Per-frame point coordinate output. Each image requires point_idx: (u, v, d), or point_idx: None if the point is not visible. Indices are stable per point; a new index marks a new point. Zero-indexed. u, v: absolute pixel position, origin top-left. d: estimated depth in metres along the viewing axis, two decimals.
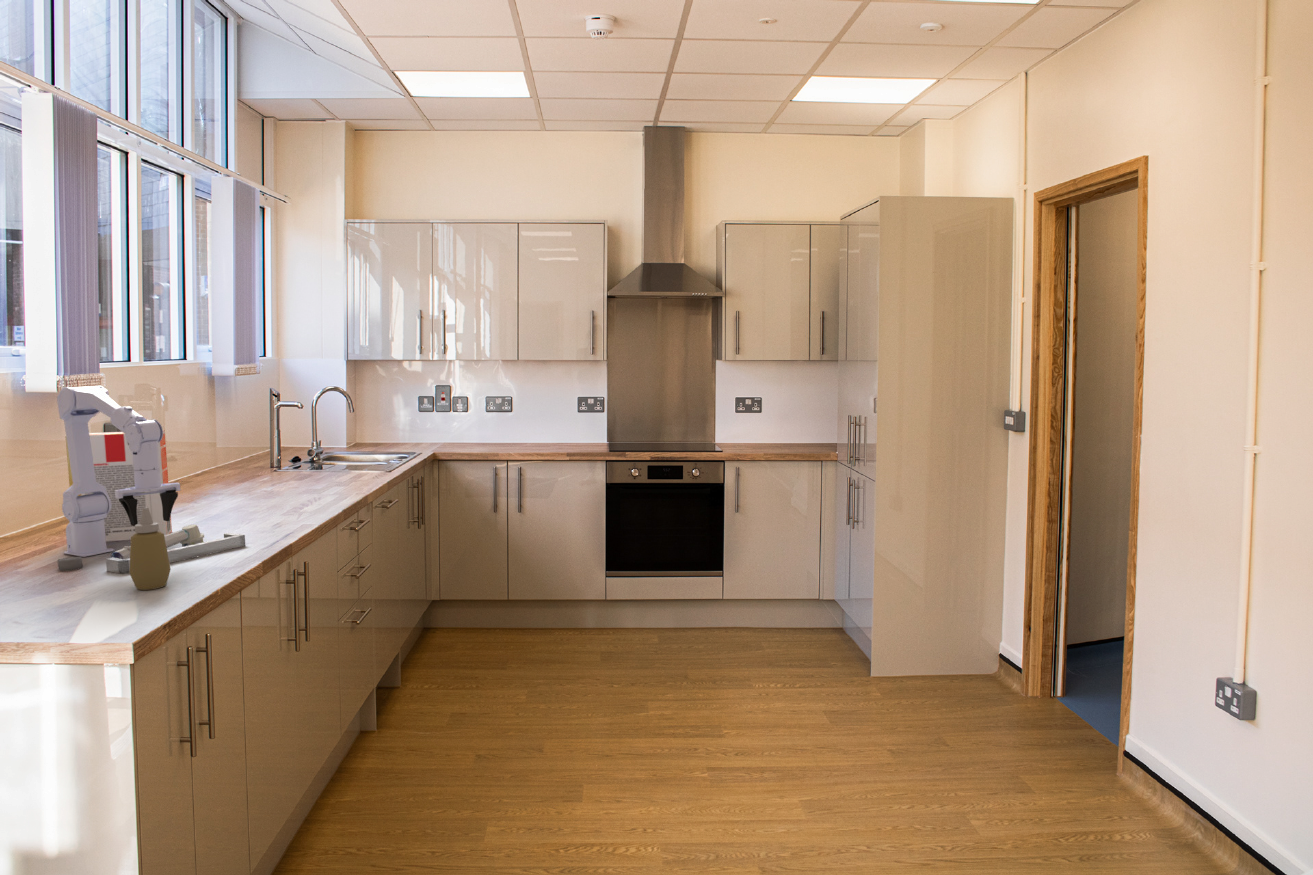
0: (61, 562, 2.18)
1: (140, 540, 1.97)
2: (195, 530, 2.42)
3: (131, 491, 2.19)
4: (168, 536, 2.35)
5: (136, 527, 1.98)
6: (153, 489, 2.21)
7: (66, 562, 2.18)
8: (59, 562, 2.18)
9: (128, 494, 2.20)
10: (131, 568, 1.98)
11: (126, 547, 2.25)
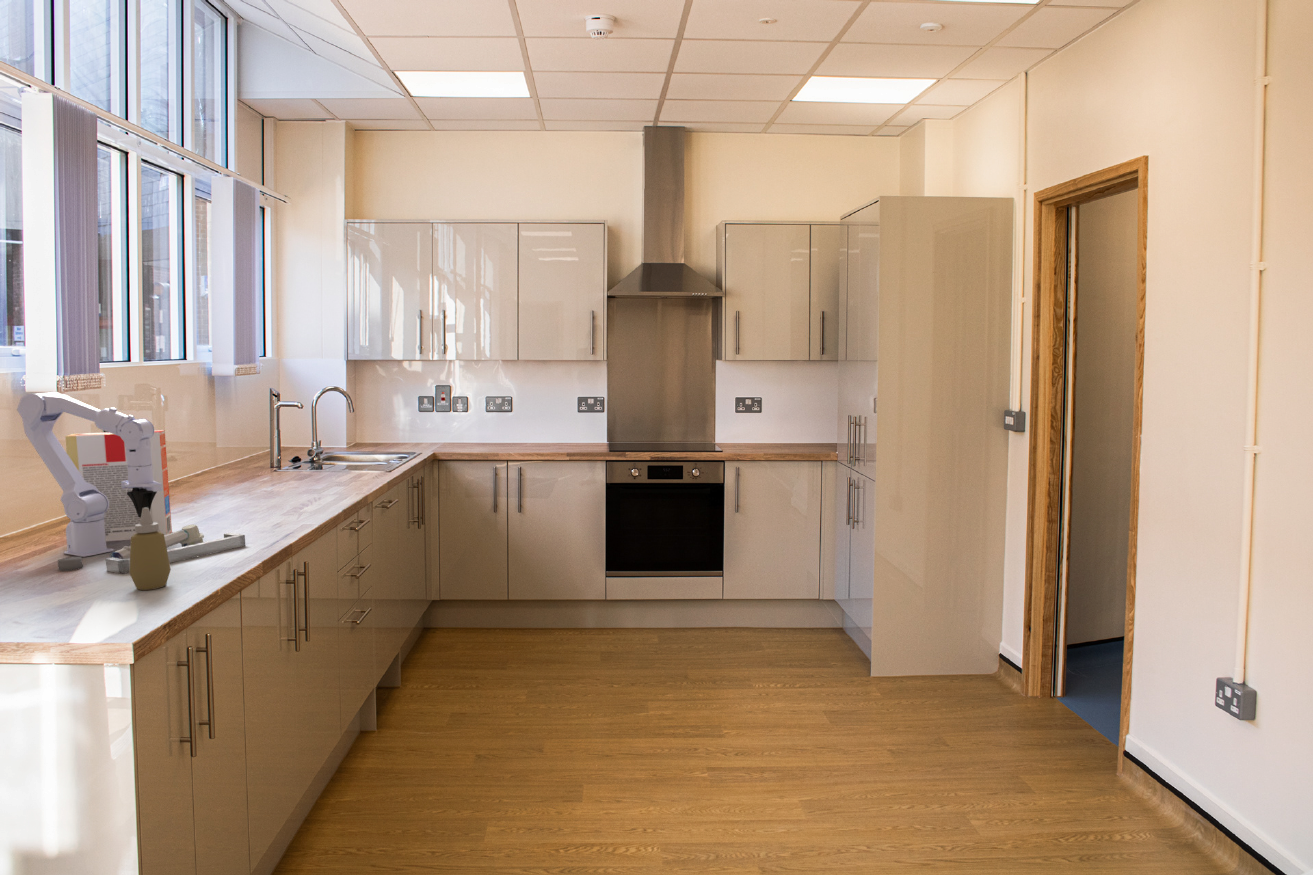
0: (61, 562, 2.18)
1: (140, 540, 1.97)
2: (194, 530, 2.41)
3: (125, 483, 2.36)
4: (168, 536, 2.35)
5: (136, 527, 1.98)
6: (125, 485, 2.32)
7: (66, 562, 2.18)
8: (59, 562, 2.18)
9: None
10: (131, 568, 1.98)
11: (126, 547, 2.25)
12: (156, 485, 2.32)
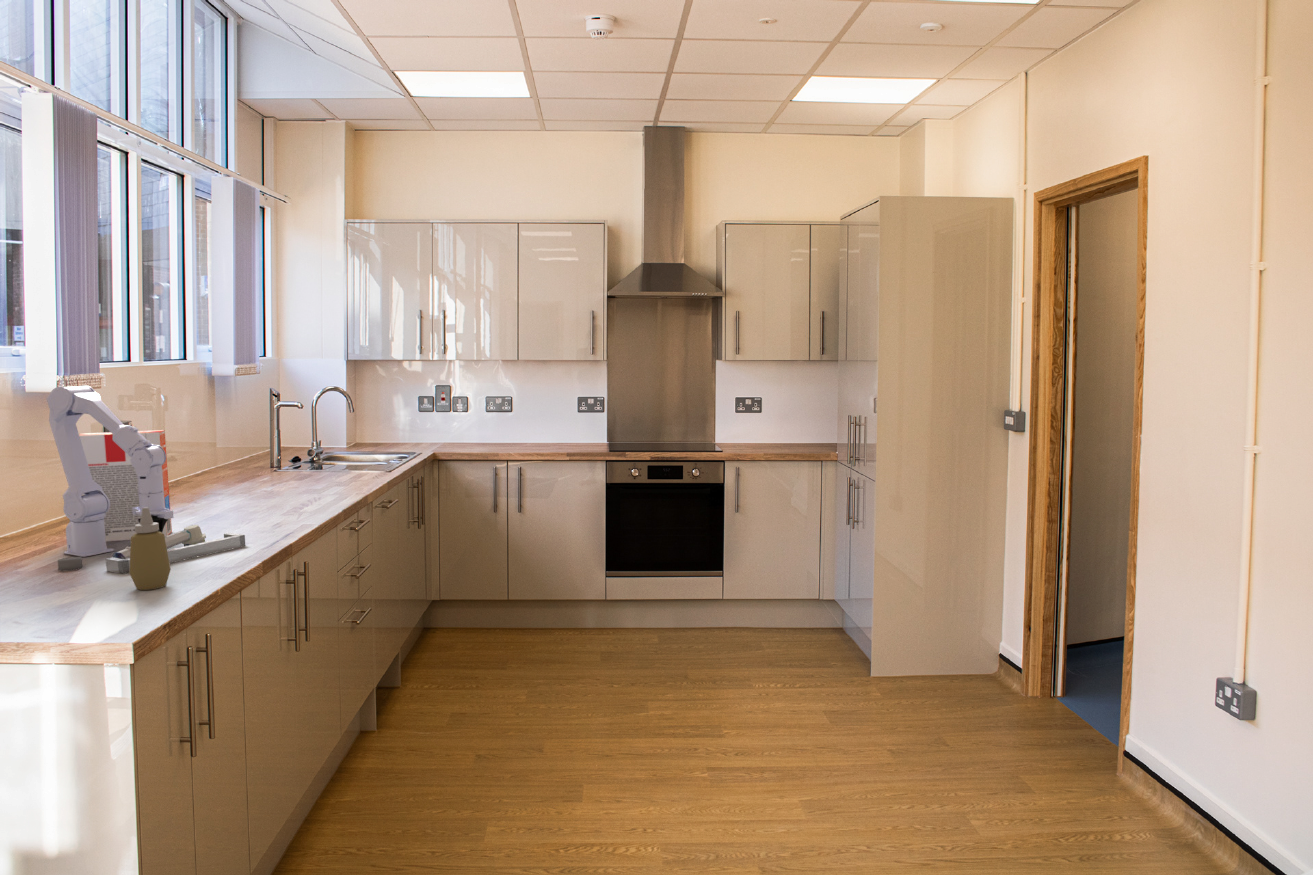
0: (61, 562, 2.18)
1: (140, 540, 1.97)
2: (197, 530, 2.41)
3: (136, 510, 2.35)
4: (170, 536, 2.35)
5: (136, 527, 1.98)
6: (136, 512, 2.31)
7: (66, 562, 2.18)
8: (59, 562, 2.18)
9: None
10: (131, 568, 1.98)
11: (128, 547, 2.25)
12: (168, 512, 2.30)
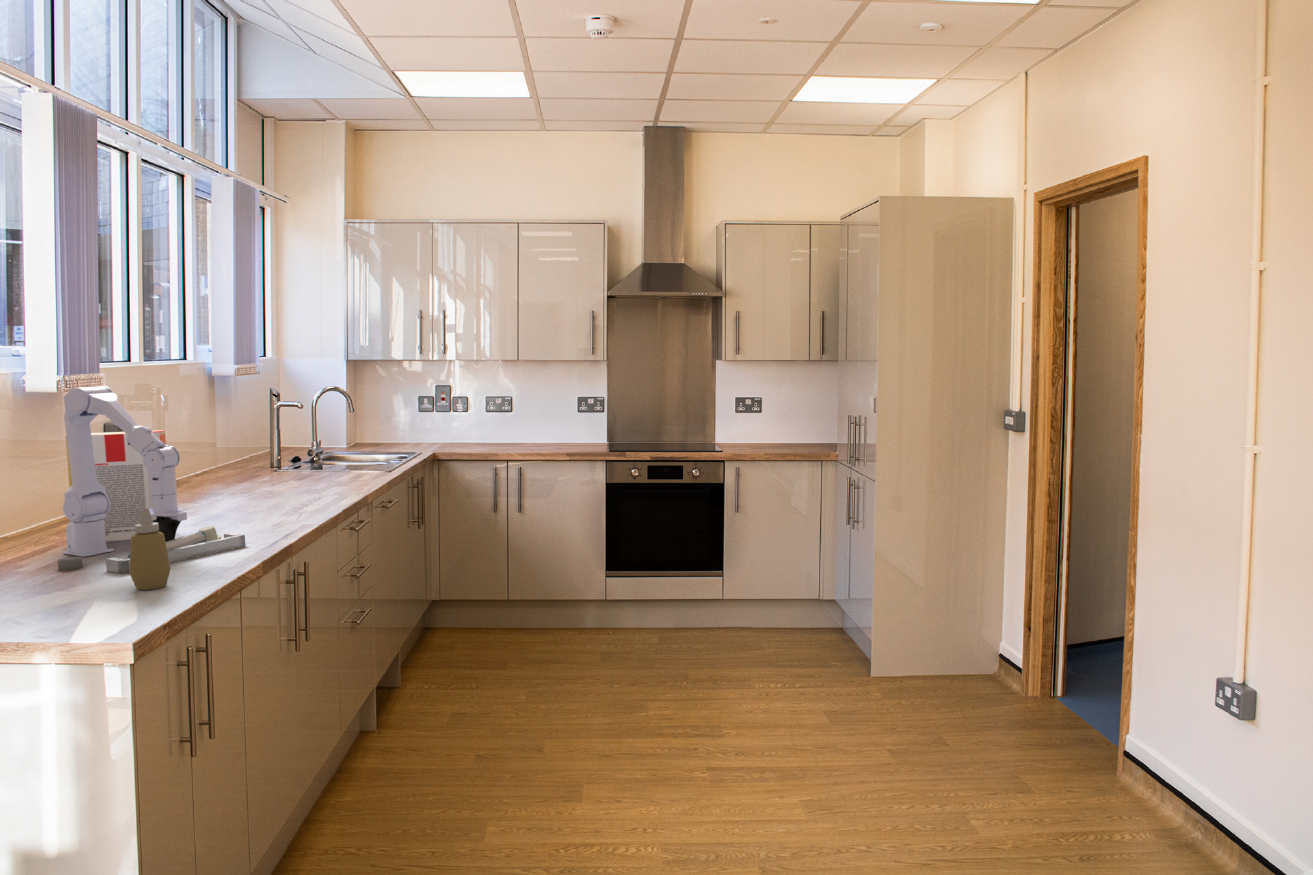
0: (61, 562, 2.18)
1: (140, 540, 1.97)
2: (212, 532, 2.39)
3: None
4: (185, 538, 2.32)
5: (136, 527, 1.98)
6: None
7: (66, 562, 2.18)
8: (59, 562, 2.18)
9: None
10: (131, 568, 1.98)
11: None
12: (181, 514, 2.28)
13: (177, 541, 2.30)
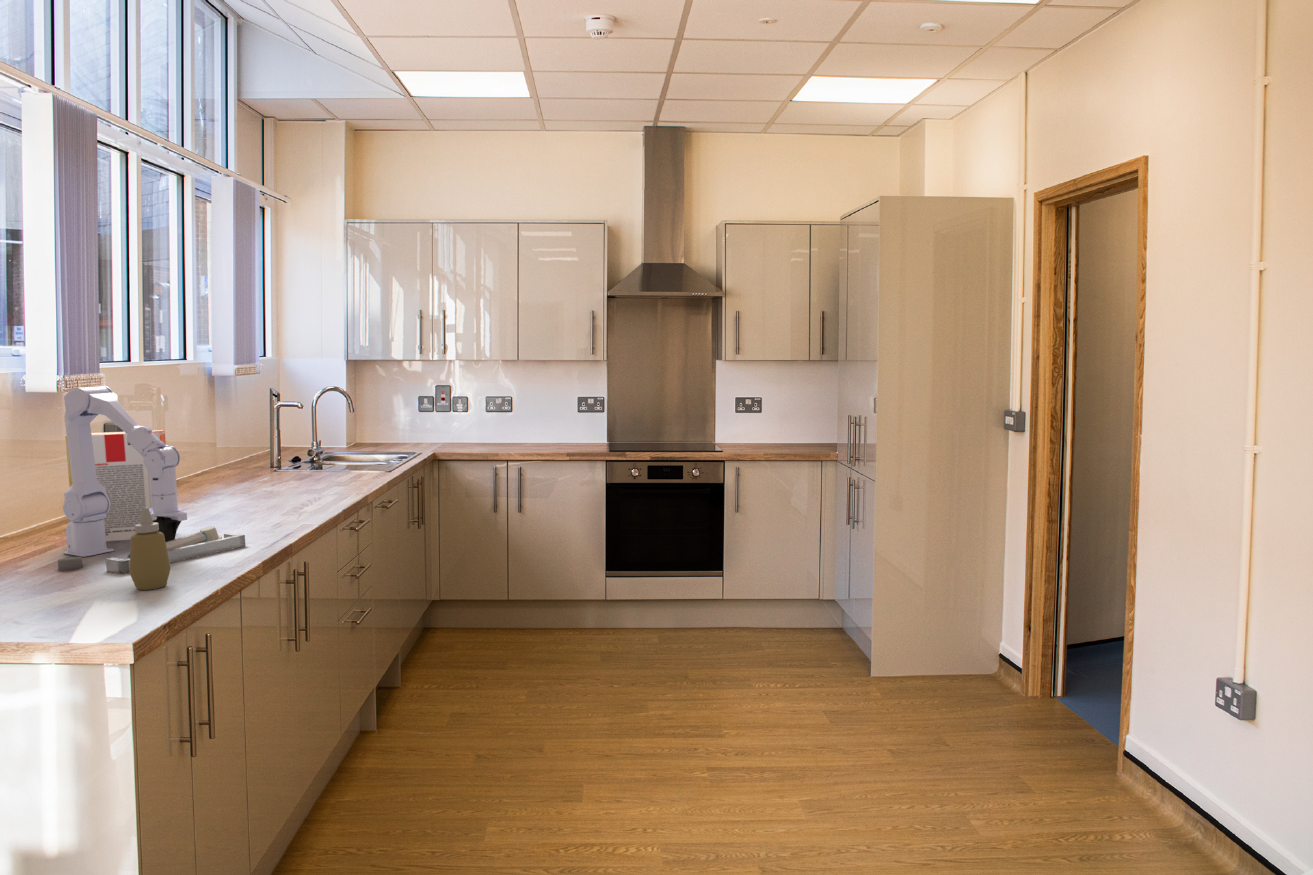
0: (61, 562, 2.18)
1: (140, 540, 1.97)
2: (213, 532, 2.38)
3: None
4: (185, 538, 2.32)
5: (136, 527, 1.98)
6: None
7: (66, 562, 2.18)
8: (59, 562, 2.18)
9: None
10: (131, 568, 1.98)
11: None
12: (181, 514, 2.28)
13: (177, 541, 2.30)
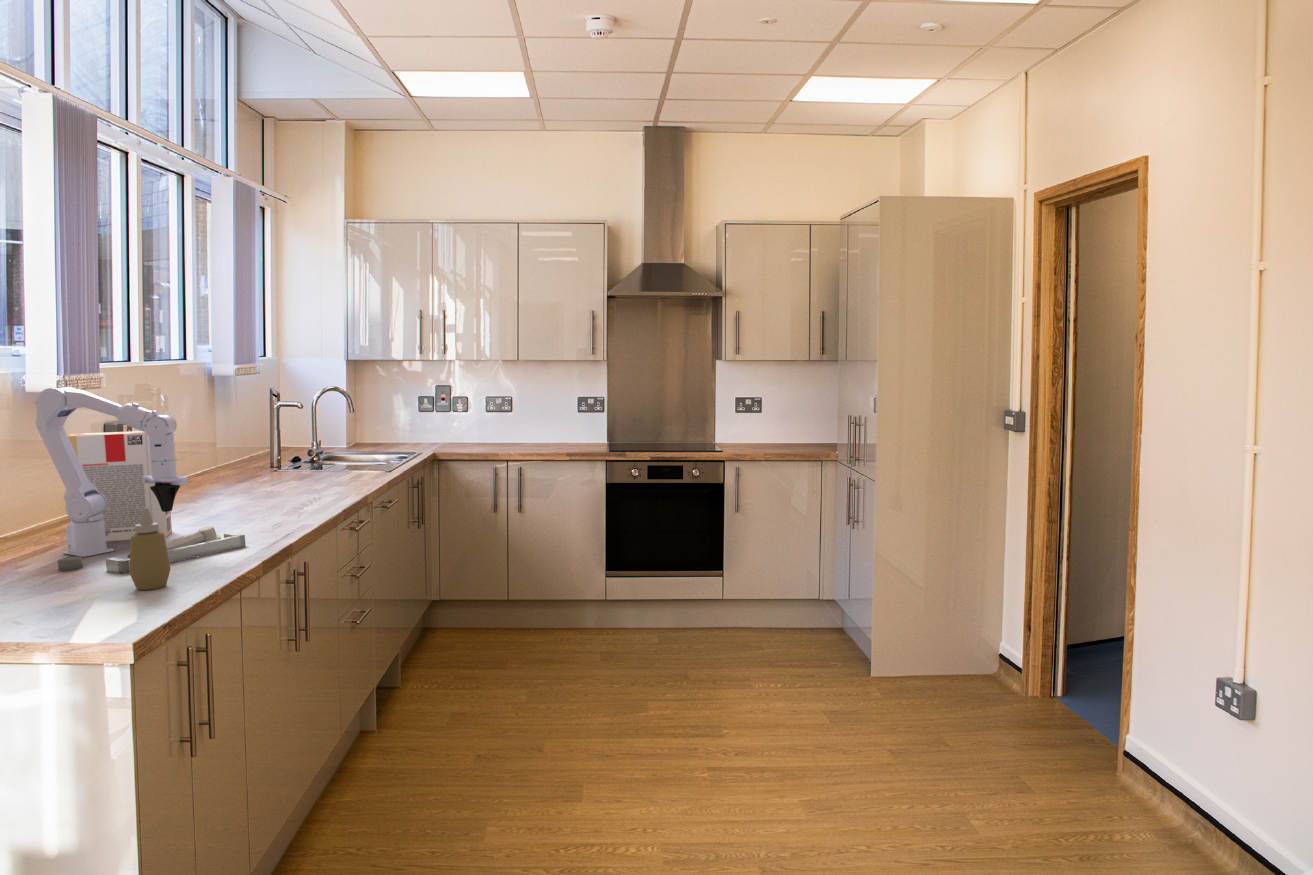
0: (60, 562, 2.18)
1: (140, 540, 1.97)
2: (211, 532, 2.39)
3: (147, 478, 2.38)
4: (184, 538, 2.32)
5: (136, 527, 1.98)
6: (149, 480, 2.35)
7: (65, 562, 2.18)
8: (58, 562, 2.19)
9: (151, 481, 2.40)
10: (131, 568, 1.98)
11: None
12: (183, 479, 2.35)
13: (176, 541, 2.30)
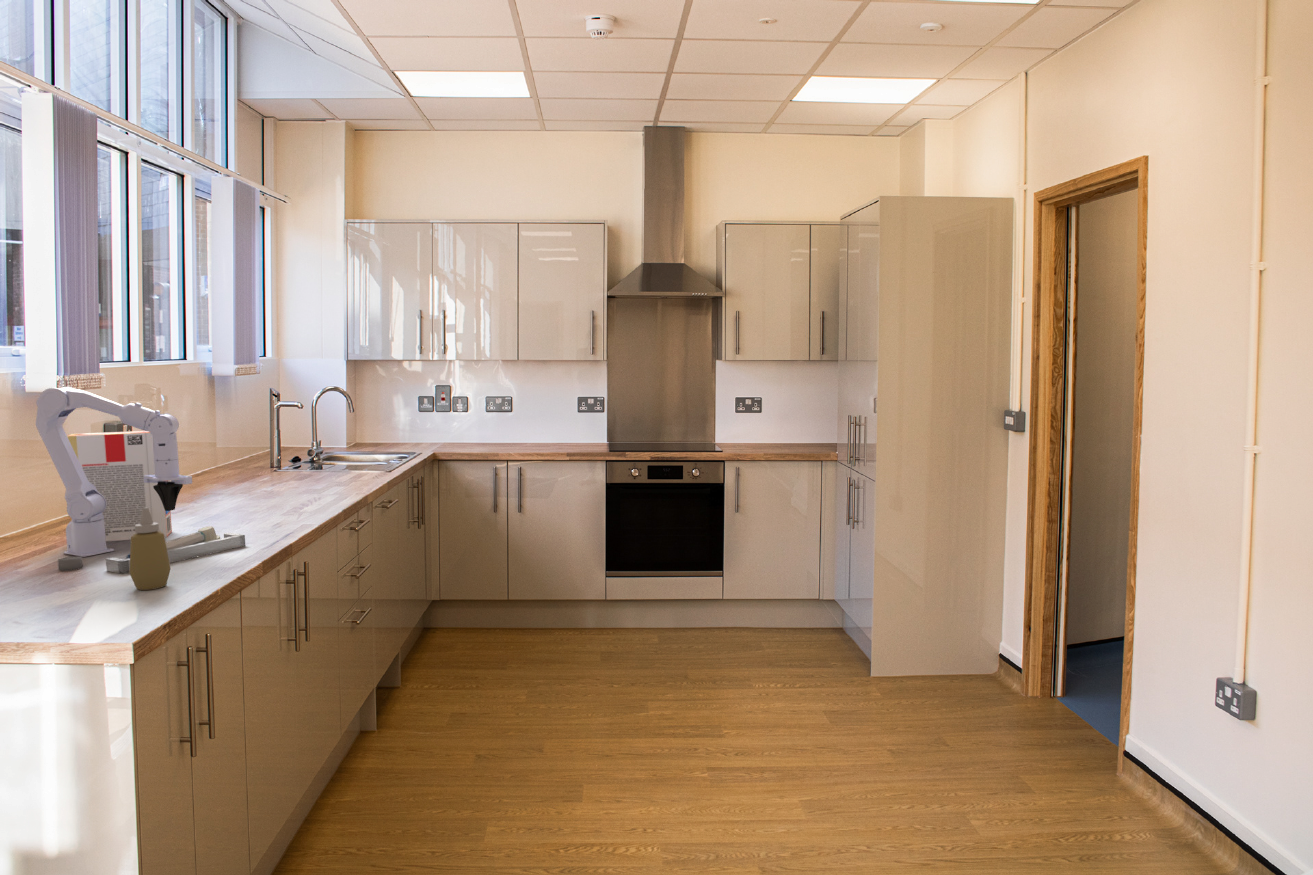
0: (60, 561, 2.18)
1: (140, 540, 1.97)
2: (211, 532, 2.39)
3: (149, 478, 2.39)
4: (184, 538, 2.32)
5: (136, 527, 1.98)
6: (153, 479, 2.36)
7: (65, 562, 2.18)
8: (59, 561, 2.19)
9: (153, 480, 2.41)
10: (131, 568, 1.98)
11: None
12: (187, 478, 2.37)
13: (176, 541, 2.30)
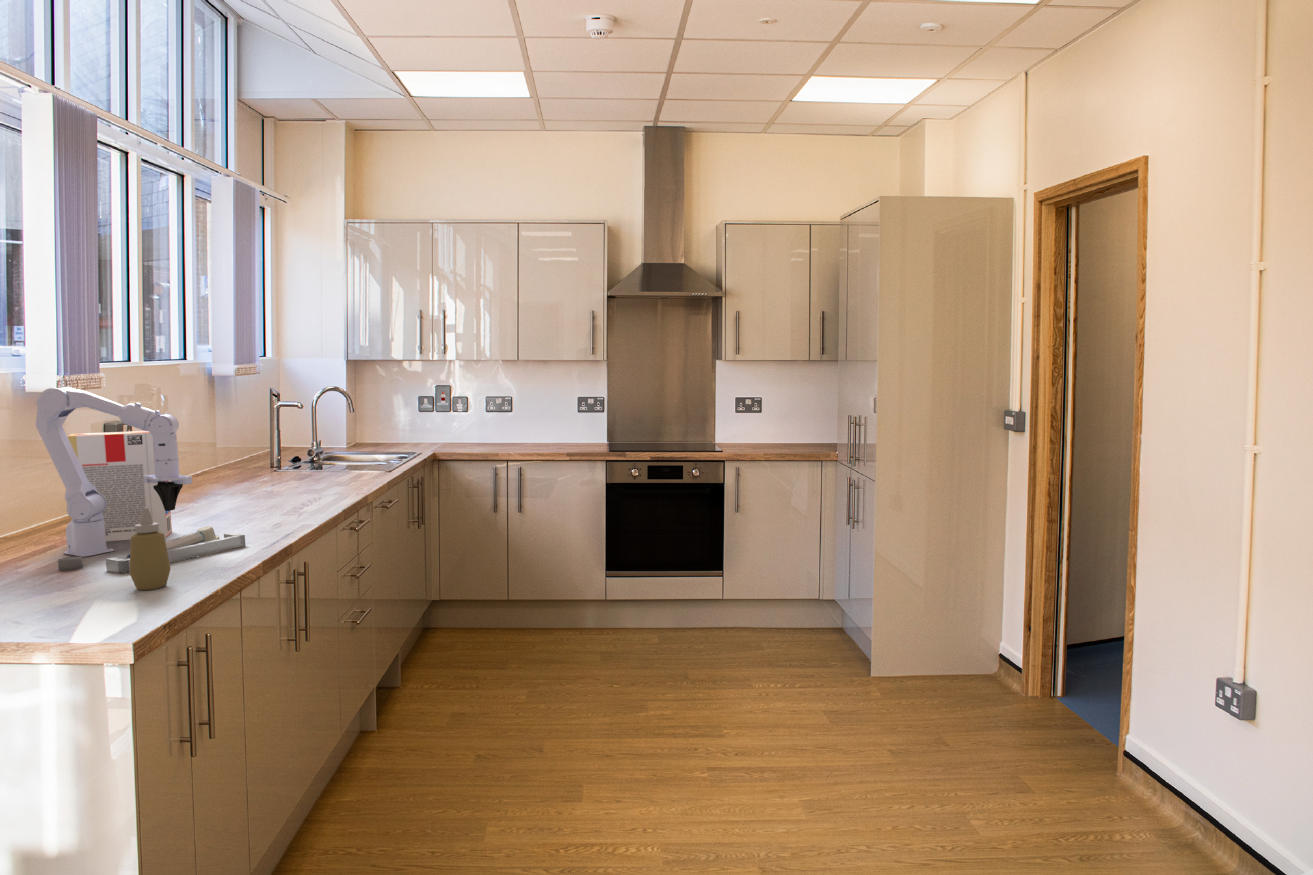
0: (60, 561, 2.18)
1: (140, 540, 1.97)
2: (210, 532, 2.39)
3: (149, 478, 2.39)
4: (183, 538, 2.32)
5: (136, 527, 1.98)
6: (153, 479, 2.36)
7: (64, 562, 2.18)
8: (58, 561, 2.19)
9: (153, 480, 2.41)
10: (131, 568, 1.98)
11: None
12: (187, 478, 2.37)
13: (176, 541, 2.30)
